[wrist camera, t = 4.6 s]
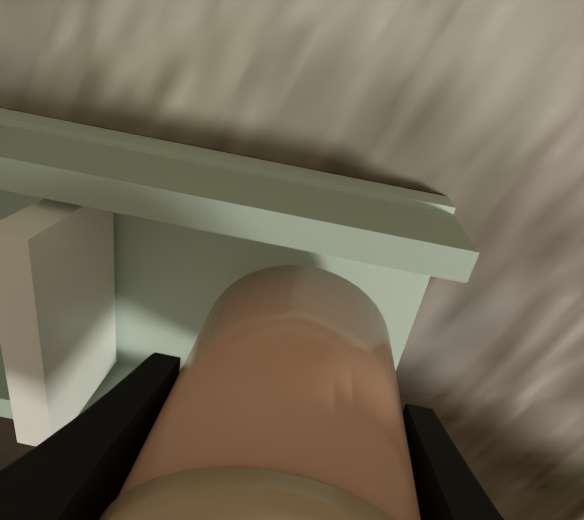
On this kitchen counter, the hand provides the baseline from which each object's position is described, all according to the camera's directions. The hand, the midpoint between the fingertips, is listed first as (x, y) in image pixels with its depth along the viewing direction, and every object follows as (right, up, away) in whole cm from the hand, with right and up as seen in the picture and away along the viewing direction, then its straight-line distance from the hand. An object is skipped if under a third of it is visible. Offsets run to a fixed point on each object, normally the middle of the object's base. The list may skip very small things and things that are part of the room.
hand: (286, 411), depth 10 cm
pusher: (-9, +4, +4) cm, 11 cm away
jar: (0, +1, +2) cm, 2 cm away
